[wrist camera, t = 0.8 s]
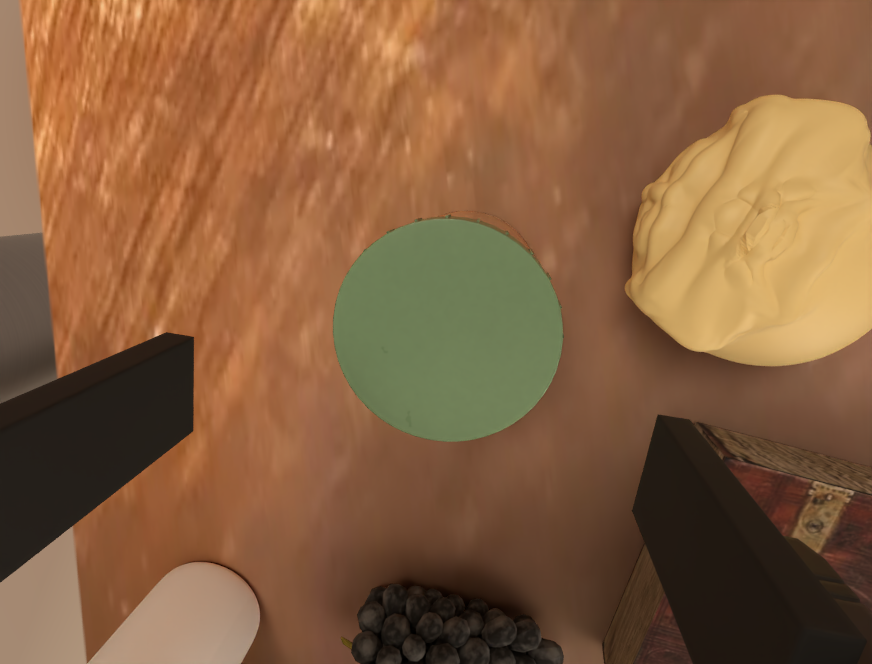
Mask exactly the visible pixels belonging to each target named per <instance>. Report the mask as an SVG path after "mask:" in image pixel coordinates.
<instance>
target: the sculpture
mask: <svg viewBox="0 0 872 664" xmlns="http://www.w3.org/2000/svg"><path fill="white" fill-rule="evenodd" d="M870 136H871V135H870V131H869V129H868V125H867V121H866V118H865V117H864V115H863V114H862V113H861V112H860V111H859V110H858V109H856V108H855V107H853V106H850V105H848V104H844V103H840V102H835V101H828V100H819V99H792V98H790V97H787V96H784V95H766V96H762V97H758V98H756V99H754V100H752V101H750V102H748V103H747V104H743V105H740V106H738V107H737V108H735V109H734V110H733V111H732V113H731V115H730V119H729V120H728V122H727V123H726V125H725V126H724V127H723V128H721V129H720V130H718V131H717V132H715V133H714V134H712V135H711V136H709V137H708V138H704V139H700V140H698V141H696V142H695V143H693V144H692V145H690V146H689V147H688V148H686V149H685V150H684V151H683V152H682V153H680V154H679V155H678V156H677V158H676V159H675V160H674V161H673V162H672V163H671V165H670V166H669V167H668V168H667V170H666V171H665V172H664V173H663V174H662V175H661V176H660V177H659V178H658V179H657V180H656V181H655V182H654V183H650V184H649V185H647V186H646V187H645V188H644V190H643V192H642V203H641V205H640V208H639V211H638V216H637V220H636V225H635V228H634V232H633V247H634V251H633V260H632V276H631V278H630V279H629V280H628V281H627V282H626V284H625V292H626V294H627V295H628V297H629V298H631V299H632V300H633V301H634V303H635V304H636V306H637V307H638V308H639V309H640V310H641V311H642V312H643V313H644V314H645V315H647V316H649V317H650V318H651V319H652V321H653V322H654V323H655V324H657V325H658V326H659V327H660V328H661V329H662V330H664V331H665V332H666V333H668V334H669V335H670V336H671V337H672V338H673V339H674V340H676V341H677V342H678V343H679V344H681V345H682V346H684V347H685V348H687V349H690V350H692V351H697V352H707V353H709V354H712V355H714V356H717V357H720V358H723V359H726V360H729V361H733V362H738V363H743V364H749V365H757V366H785V365H794V364H800V363H804V362H809V361H812V360H816V359H819V358H822V357H824V356H827V355H829V354H832V353H834V352H836V351H838V350H840V349H842V348H844V347H846V346H848V345H849V344H851V343H853V342H854V341H856V340H857V339H859V338H860V337H862V336H863V335H864V334H866V333H867V332H868V331H870V330H871V329H872V146H871V145H870V144H869V142H870Z"/></svg>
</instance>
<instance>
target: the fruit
mask: <svg viewBox="0 0 872 664" xmlns="http://www.w3.org/2000/svg"><path fill="white" fill-rule="evenodd" d="M464 609H465V605H464V602H463V599H462V598H461V597H459V596H458V595H452V594H450V595H449V596H448V597H447V598H446V597H444V598H443V596H442V594H441V593H440V592H439V591H438V590H436V589H433V588H431V589H429V590H427V591H426V590H425V589H424V588H422V587H420V586H411V587H410V588H409V589H408V590H407V589H406V588H405V587H403V586H401V585H400V584H390V585H389V586H388V588H385V587H381V586H379V587H376V588H374V589H372V590H371V592H370V594H369V596H368V598H367V600H366V601H365V604H364V605H363V606H362V607H361V608H360V610H359V612H358V614H357V616H358V621H359V626H360V629H361V630H362V633H360V634H358V635H357V636H356V637H355V639H354V640H353V643H352V642H350V641H349V640H347V639H345V638H343V637H342V636H341V640H342V642H343V644H344V645H345V646H347V647H348V648H350V649H351V653H352V655H353V657H354V659H355V660H356V661H357V662H359V663H361V664H563V658H564V655H563V652H562V648H561V647H560V646H559V645H558V644H557V643H555V642H554V641H551V640H547V639H543V638H541V632H540V628H539V626H538V625H537V624H536V623H535V621H534V620H533V619H532V618H531V617H530V616H528V615H525V614H522V615H519V616H516V617H515V619H514V620H512V619H511V618H509V617H507V616H506V615H505V613H504V612H502V611H501V610H499V609H497V608H496V609H491V610H488V605H487V604H486V603H485V602H484V601H483V600H482V599H473V600H471V601H470V602H469V604H468V606H467V608H466V610H465V611H464Z"/></svg>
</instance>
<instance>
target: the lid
mask: <svg viewBox="0 0 872 664" xmlns="http://www.w3.org/2000/svg"><path fill="white" fill-rule="evenodd" d="M480 220H481V219H480V218H478V219H477V220H476V219H471V218H466V217H456V216H451V214H448V215H446V216H443V217H432V218H427V219H422V218H418V219H416V220H415V222H413V223H410V224H407V225H405V226H402V227H399V228H397V229H392V230H390V231H387V232H386V233H387V234H386V235H384V236H383V237H381V238H380V239H378V240H377V241H375V242H374V243H373V244H372V245H371V246H370V247H368V248H367V249H365V250H364V251H363V253H362V254H361V255H360V257H359V258H358V259H357V260H356V261H355V263H354V264H353V265H352V267H351V268H350V270H349V272H348V273H347V275H346V276H345V279H344V281H343V283H342V285H341V288H340V290H339V293H338V297H337V300H336V304H335V310H334V317H333V336H334V345H335V350H336V354H337V358H338V361H339V364H340V366H341V369H342V371H343V374H344V376H345V378H346V379H347V381H348V383H349V385H350V387H351V388H352V389H353V391H354V392H355V394H356V395H357V396H358V398H359V399H360V400H361V401H362V402H363V403H364V404H365V405H366V406H367V408H368V409H370V410H371V411H372V412H373V413H374V414H375V415H377V416H378V417H379V418H380V419H382V420H383V421H385V422H386V423H388V424H389V425H391V426H393V427H395V428H397V429H399V430H401V431H403V432H405V433H408V434H411V435H414V436H416V437H420V438H425V439H429V440H436V441H444V442H451V441H466V440H474V439H478V438H482V437H486V436H488V435H491V434H494V433H496V432H499V431H501V430H503V429H505V428H506V427H508V426H510V425H512V424H513V423H515V422H516V421H518V420H519V419H520V418H522V417H523V416H524V415H525V414H527V413H528V412H529V411H530V410H531V409H532V408H533V407H534V406H535V405H536V404H537V402H538V401H539V400H540V399H541V397H542V396H543V395H544V393H545V392H546V390H547V388H548V387H549V385H550V383H551V382H552V379H553V377H554V375H555V372H556V370H557V367H558V363H559V360H560V356H561V350H562V343H563V338H564V335H563V323H562V316H561V310H560V309H561V308H562V307H561V304H560V302H559V300H558V299H557V296H556V293H555V291H554V289H553V287H552V284H551V282H550V280H551V277H550V275H549V273H546V272H545V271H544V269H543V268H542V266H541V264H540V263H539V261H538V260H537V259H536V258H535V256H534V255H533V252H532V250H531V249H529V250H528V249H527V248H526V247H525V246H524V245H523V244H522V243H521V242H520V241H519V240H517V239H516V238H514V237H513V236H511V235H510V234H509V231H508V230H506V231H504V230H502V229H500V228H498V227H496V226H494V225H491V224H488V223H486V222H483V221H480Z"/></svg>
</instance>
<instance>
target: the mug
mask: <svg viewBox="0 0 872 664" xmlns="http://www.w3.org/2000/svg"><path fill="white" fill-rule="evenodd" d="M259 623H260V609H259V604H258V601H257V599H256V596H255V594H254V593H253V591H252V589H251V588H250V587H249V585H248V584H247V583H246V582H245V581H244V580H243V579H242V578H241V577H240V576H239V575H237V574H236V573H234V572H233V571H231V570H229V569H227V568H225V567H223V566H220V565H217V564H214V563H209V562H192V563H187V564H184V565H181V566H179V567H177V568H175V569H173V570H172V571H170V572H169V573H168V574H166V575H165V576H164V577H163V578H162V579H161V580H160V581H159V582H158V583H157V585H156V586H155V587H154V588H153V589H152V590H151V591H150V592H149V594H148V595H147V596H146V597H145V598H144V599H143V600H142V602H141V603H140V604H139V605H138V606H137V607H136V608H135V610H134V611H133V612H132V613H131V614H130V615H129V616H128V618H127V619H126V620H125V621H124V622H123V623H122V624H121V626H120V627H119V628H118V629H117V630H116V631H115V632H114V634H113V635H112V636H111V637H110V638H109V639H108V640H107V642H106V643H105V644H104V645H103V646H102V647H101V648H100V650H99V651H98V652H97V653H96V654H95V655H94V657H93V658H92V659H91V660H90V661H89V662H88V663H87V664H241V663H242V661H243V659H244V657H245V655H246V654H247V652H248V650H249V648H250V646H251V644H252V642H253V641H254V638H255V636H256V634H257V631H258V628H259Z"/></svg>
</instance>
